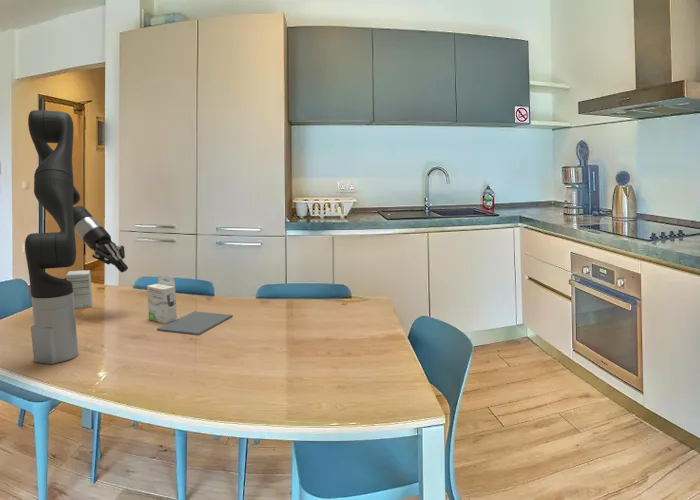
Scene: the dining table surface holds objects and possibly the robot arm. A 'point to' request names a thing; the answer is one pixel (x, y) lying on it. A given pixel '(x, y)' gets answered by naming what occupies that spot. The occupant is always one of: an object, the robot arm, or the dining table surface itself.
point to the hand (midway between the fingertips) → (125, 270)
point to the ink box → (162, 300)
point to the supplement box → (81, 288)
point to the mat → (195, 323)
